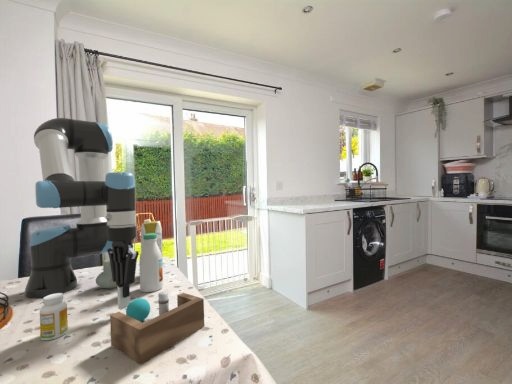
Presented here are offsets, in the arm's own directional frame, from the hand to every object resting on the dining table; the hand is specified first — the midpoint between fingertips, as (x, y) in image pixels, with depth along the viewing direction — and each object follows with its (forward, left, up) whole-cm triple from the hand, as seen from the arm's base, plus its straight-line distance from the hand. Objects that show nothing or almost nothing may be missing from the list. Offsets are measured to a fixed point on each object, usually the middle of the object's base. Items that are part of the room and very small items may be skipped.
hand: (124, 307), depth 74 cm
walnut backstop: (+19, -1, -2) cm, 19 cm away
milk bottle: (-11, +16, -2) cm, 20 cm away
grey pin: (+16, +2, -2) cm, 16 cm away
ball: (+8, 0, +1) cm, 8 cm away
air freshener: (-27, +10, -2) cm, 29 cm away
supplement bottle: (-4, -15, -2) cm, 16 cm away
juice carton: (-24, +25, -2) cm, 35 cm away
